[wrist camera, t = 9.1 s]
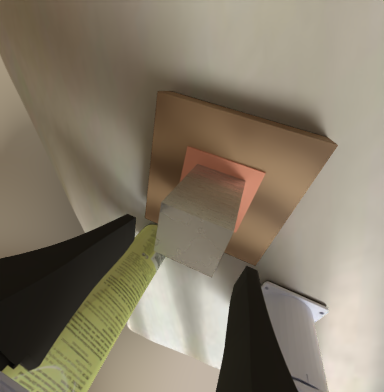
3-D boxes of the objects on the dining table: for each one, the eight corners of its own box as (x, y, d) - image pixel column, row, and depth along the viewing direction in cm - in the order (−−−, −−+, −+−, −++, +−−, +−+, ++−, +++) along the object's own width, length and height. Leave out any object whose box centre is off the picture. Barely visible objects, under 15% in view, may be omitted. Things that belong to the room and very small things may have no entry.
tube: (138, 239, 29) (-15, 417, 13) (141, 215, 26) (-48, 407, 11) (170, 254, 28) (47, 464, 13) (176, 232, 26) (29, 467, 10)
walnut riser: (256, 249, 22) (255, 267, 20) (154, 207, 25) (144, 218, 23) (327, 137, 15) (338, 146, 12) (170, 91, 17) (156, 91, 15)
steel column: (228, 219, 18) (211, 277, 13) (187, 202, 19) (153, 250, 13) (245, 180, 16) (233, 231, 10) (197, 163, 17) (161, 202, 11)
